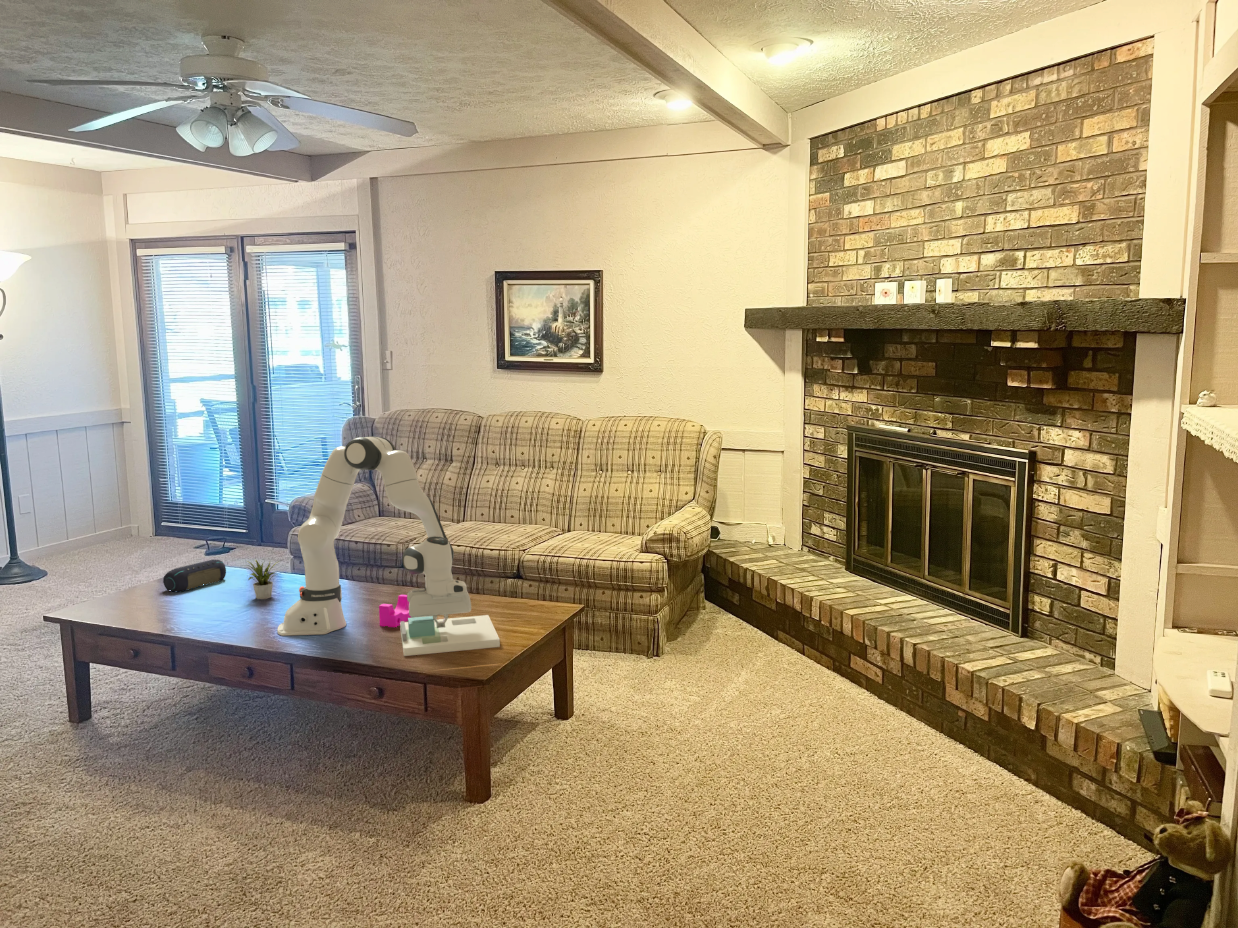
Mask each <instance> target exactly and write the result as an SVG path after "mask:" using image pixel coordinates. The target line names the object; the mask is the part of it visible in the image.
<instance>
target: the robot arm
mask: <svg viewBox="0 0 1238 928" xmlns="http://www.w3.org/2000/svg"><path fill="white" fill-rule="evenodd" d="M360 471H378V473H380V475H381V478H382V480H383V484H384V485H383V486H384V489H385V494H386V498H387V500H388V501H389V503H390V504H391V505H392V506H393V507H395V509H398V510H400V511H405V512H408V513H412V514H413V515H416V516H417V517H418V518H419V519H420V520H421V523H422V526H423V527H424V530H425V533H426V536H427V538H425V540H424V541H423V542H420V543H418V544H415V545H412V546H409V547H407V548H406V549H405V550H404V552H403V554H402V559H401V560H402V565H403V568H404V570H405V571H406V572H408V573H409V574H411V575H421V574H423V575H425V577H424V580H425V581H424V582H425V587H419V588H415V587H414V588H411V589H410V590H408V592H407V594H406V595H407V600H408V601H409V615H410V616H411V618H414V617H425V616H433V619H434V621H435V622H436V627H437V628H445V622H446V621H447V619H449V615H455V614H465V613H470V612H471V611H472V601H471V597H470V594H469V592H468V590H467V583H466V582H465V581H462V580H459V579H454V578H453V574H452V566H453V560H454V556H455V553H454V548H453V546H452V543H450V541H449V539H448V537H447V535H446V533H445V530H444V528H443V527H444V526H442V523H441V520H440V518H439V515H438V513H437V509H436V507H435V505H434V503H433V501H432V499H431V497H429V496H428V495H427V494H426V493H425V492H424V491H423V489H422V487H421V485H420V483H419V479H418V475H417V472H416V469H415V466H414V463H413V461H412V459H411V457H410V455H409V453H408V452H406V451H405V450H401V449H397V448H396V446H395V445H394V444H393V442H392V441H390V440H389V439H387V438H385V437H377V436H366V437H363V436H361V437H356V438H353V439H352V440H350V441H349V442H347V444H346V445H345V446H344V445H343V446H337V447H335V448H334V449H333V450H332V451H331V453H330V455H329V457H328V459H327V461H326V462H325V464H324V467H323V469H322V472H321V475H320V478H319V480H318V481H319V482H318V484H317V486H316V490H315V492H314V495H313V496H314V499H313V503H312V508H311V511H310V514H309V517H308V519H306V521H304V522H303V523H302V524H301V526H299V530H298V533H297V542H298V544H299V547H300V551H301V557H302V561H303V566H304V576H305V579H304V580H305V586H303V585H302V586H300V587H299V589H298V592H299V597H300V599H298V600H297V601H296V602H295V603H294V604H292V605H291V606H290V607H289V608H288V609H287V610H286V611H285V614H284V618H283V622H281V623H280V624H279V625H278V626H277V630H276V631H277V634H278V635H280V636H282V637H283V636H307V635H308V636H310V635H311V636H313V635H327V634H329V633H331V632H333V631H337V630H340V629H343V628H345V627H346V626H347V621H346V618H345V615H344V611H343V606H342V598H343V593H342V586H341V584H340V571H339V570H340V569H339V561H338V559H337V555H336V549H335V540H336V539H337V538H338V536H339V534H340V531H341V529H342V524H343V521H344V517H345V513H346V510H347V506H348V503H349V500H350V497H351V493H352V491H353V487H354V485H355V483H356V482H355V481H356V479H357V476H358V474H359V472H360ZM438 616H443V619H444V620H443V621H440V622H438V621H437V619H438Z"/></svg>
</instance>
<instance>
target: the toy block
mask: <svg viewBox="0 0 1238 928" xmlns="http://www.w3.org/2000/svg"><path fill="white" fill-rule="evenodd" d="M378 615H379V617H378V618H379V626H380V627H385V626H388V627H387V628H395V627H396V628H398V627H400V623H401V621H404V622H408V618H412V617H411V616H410V615H409V601H408V600H407V594H400V595H399V594H398V595H397V602H396V606H395V608H394V605H393V604H392V603H391V604H389V603H382V604H379V605H378ZM397 626H398V627H397Z"/></svg>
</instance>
